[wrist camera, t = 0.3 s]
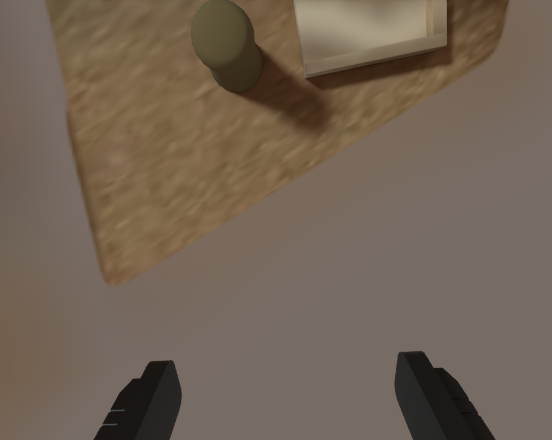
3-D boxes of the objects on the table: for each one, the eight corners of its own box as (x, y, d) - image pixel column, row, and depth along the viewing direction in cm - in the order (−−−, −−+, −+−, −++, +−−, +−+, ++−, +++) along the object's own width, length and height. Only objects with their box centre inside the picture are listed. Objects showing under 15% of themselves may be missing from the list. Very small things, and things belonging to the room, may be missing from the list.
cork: (210, 30, 31) (180, -22, 21) (265, 37, 32) (262, -10, 21) (208, 89, 33) (180, 69, 23) (260, 95, 33) (255, 79, 23)
